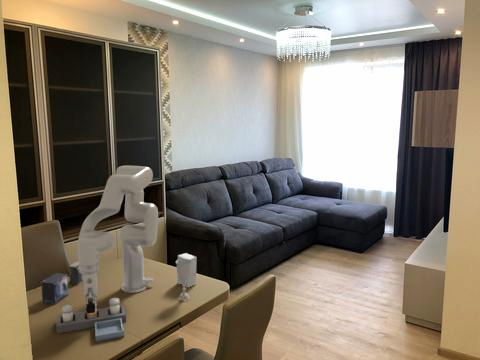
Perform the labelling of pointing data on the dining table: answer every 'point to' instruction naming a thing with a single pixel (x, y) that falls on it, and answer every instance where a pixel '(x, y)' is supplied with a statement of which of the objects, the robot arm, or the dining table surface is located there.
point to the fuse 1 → (67, 313)
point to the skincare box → (192, 276)
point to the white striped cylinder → (92, 315)
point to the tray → (109, 330)
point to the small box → (54, 288)
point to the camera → (75, 274)
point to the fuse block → (82, 321)
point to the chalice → (183, 274)
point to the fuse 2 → (114, 306)
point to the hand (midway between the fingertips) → (90, 307)
